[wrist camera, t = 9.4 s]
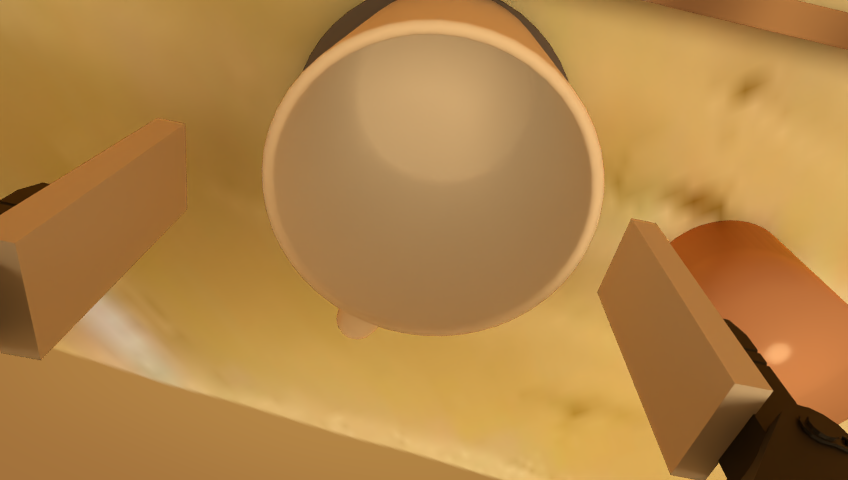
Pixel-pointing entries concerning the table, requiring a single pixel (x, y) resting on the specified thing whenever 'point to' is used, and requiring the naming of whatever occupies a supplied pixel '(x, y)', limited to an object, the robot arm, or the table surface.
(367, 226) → the mug
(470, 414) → the table surface
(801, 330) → the orange rounded cylinder
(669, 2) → the frame
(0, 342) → the robot arm
